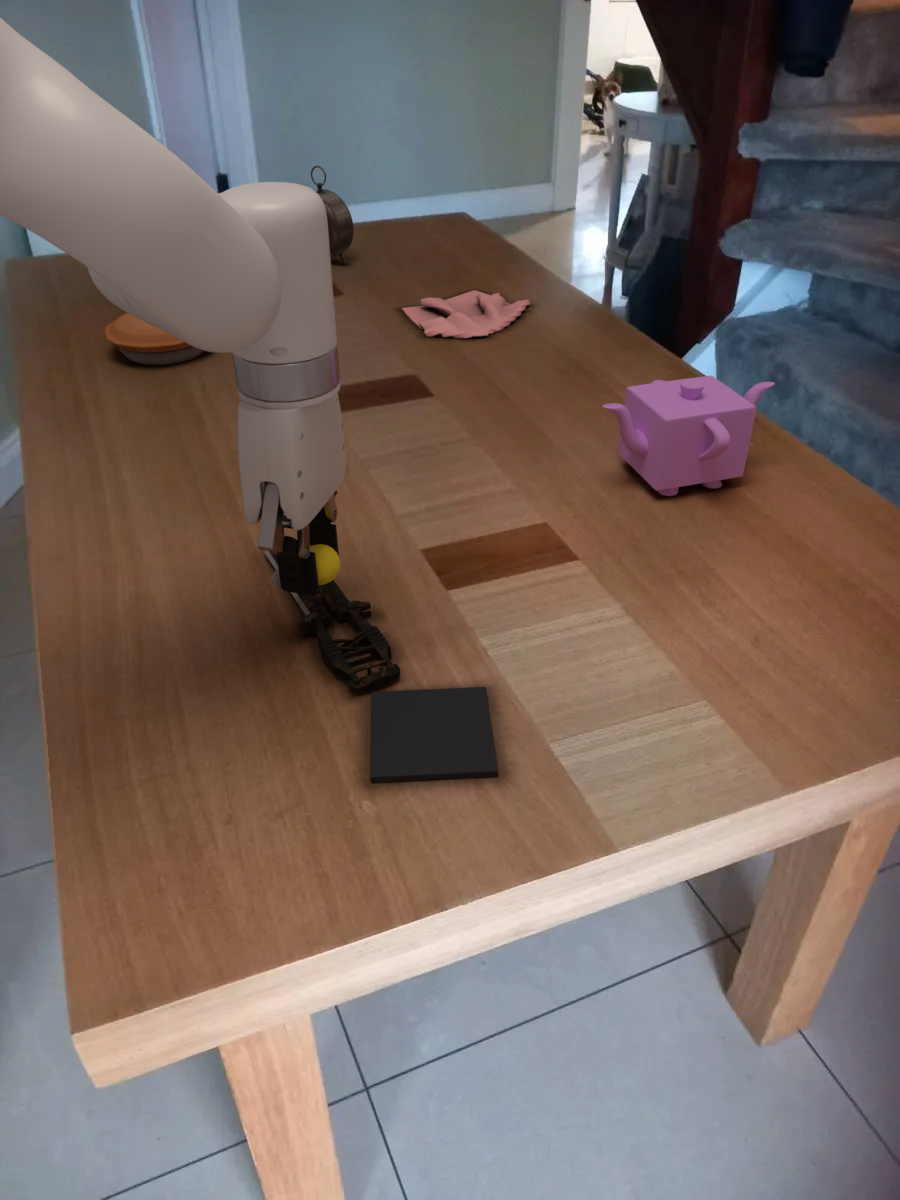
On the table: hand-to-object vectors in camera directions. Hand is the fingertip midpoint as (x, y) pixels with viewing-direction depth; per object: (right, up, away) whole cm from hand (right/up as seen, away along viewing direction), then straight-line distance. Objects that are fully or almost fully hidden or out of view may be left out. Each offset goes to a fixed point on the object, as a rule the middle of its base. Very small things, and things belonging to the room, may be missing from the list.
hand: (310, 575), depth 78 cm
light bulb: (0, -1, 0) cm, 1 cm away
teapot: (+37, +11, +23) cm, 45 cm away
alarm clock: (-11, +59, +90) cm, 108 cm away
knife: (0, -3, +4) cm, 5 cm away
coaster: (+10, -12, -9) cm, 18 cm away
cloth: (+15, +43, +67) cm, 81 cm away
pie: (-29, +34, +55) cm, 70 cm away
